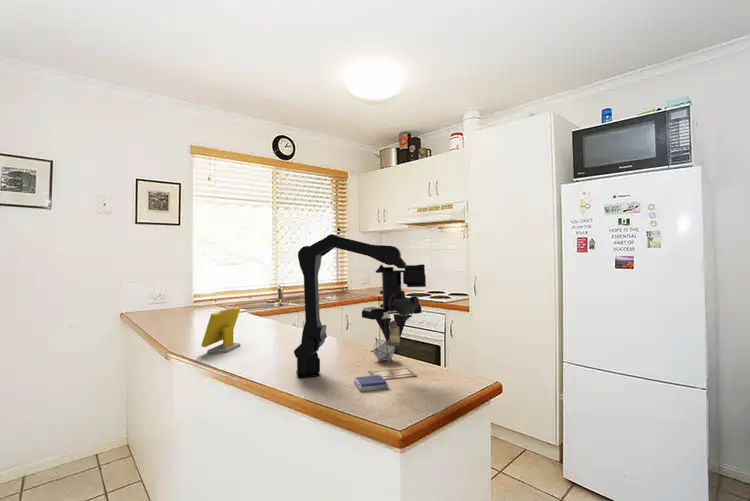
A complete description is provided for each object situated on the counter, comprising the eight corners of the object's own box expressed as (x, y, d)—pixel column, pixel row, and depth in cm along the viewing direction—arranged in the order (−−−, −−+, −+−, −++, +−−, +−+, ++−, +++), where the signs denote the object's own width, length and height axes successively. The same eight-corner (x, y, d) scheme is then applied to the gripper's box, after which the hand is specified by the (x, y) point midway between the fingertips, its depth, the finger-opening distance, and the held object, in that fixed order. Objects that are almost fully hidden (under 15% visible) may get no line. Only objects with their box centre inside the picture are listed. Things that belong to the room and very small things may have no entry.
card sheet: (375, 380, 113) (375, 379, 113) (367, 371, 122) (367, 370, 122) (416, 376, 117) (416, 375, 117) (406, 367, 125) (406, 366, 125)
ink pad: (359, 391, 104) (359, 385, 104) (354, 383, 111) (354, 377, 111) (388, 388, 106) (388, 382, 106) (380, 380, 113) (380, 374, 113)
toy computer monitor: (228, 342, 164) (228, 305, 164) (246, 343, 163) (245, 305, 163) (201, 355, 144) (200, 312, 144) (220, 355, 143) (220, 313, 143)
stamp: (384, 344, 117) (383, 320, 117) (394, 342, 119) (394, 319, 119) (392, 346, 113) (391, 322, 113) (402, 344, 116) (402, 320, 116)
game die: (388, 373, 132) (394, 354, 127) (365, 363, 134) (370, 343, 128) (396, 354, 139) (402, 336, 134) (374, 345, 141) (379, 326, 135)
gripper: (382, 291, 105) (383, 349, 104) (433, 286, 115) (434, 339, 115) (360, 289, 114) (361, 342, 114) (409, 285, 124) (410, 333, 124)
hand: (393, 339), depth 116 cm, fingers closed on stamp, 4 cm apart
